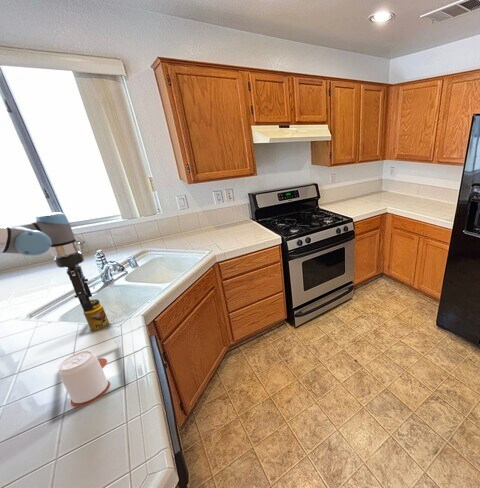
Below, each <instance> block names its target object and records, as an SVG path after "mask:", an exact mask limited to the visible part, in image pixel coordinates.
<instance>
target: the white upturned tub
mask: <svg viewBox="0 0 480 488" xmlns="http://www.w3.org/2000/svg"><path fill="white" fill-rule="evenodd" d="M98 358H99V357H98V356H97V354H96V353H94V352H93V351H91V350H83V351H79V352H76V353H74V354H71V355H70V356H68V357H66V358H65V359H64V360H62V361H61V362H60V363H59V364H58V367H57V368H58V370H57V374H58V376H59V378H60V380H61V382H62V384H63V386H64V387H65V390H66V392H67V393H68V395H69V397H70V400H71V399H72V401H73V402H74V403H83V402H86V401H89V400H91V399H93V398H95V397H96V396H98V395H99V394H101V393H102V392H103V391H104V390H105V389H106V387H107V385H108V381H109V380H108V379H107V376H106V374H105V372H104V370H103V369H102V367H101V365H100V363H99V361H98Z"/></svg>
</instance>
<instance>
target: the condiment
mask: <svg viewBox="0 0 480 488" xmlns="http://www.w3.org/2000/svg"><path fill="white" fill-rule="evenodd" d="M90 301H91V304H92V306H93V309H92V310H89V311H86V312H84V310H83V316H85V317H84V318H85V320H86V322H87V325H88V327H89V329H90V330H91V331H100V330H102V329H104V328H106V327H107V326H108V325H109V324H110V321H109V319H108V316H107V314H106V311H105V308H104V306H103V305H102V304H101V302H100V300H99V299H97V298H96V299H90Z"/></svg>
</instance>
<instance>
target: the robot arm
mask: <svg viewBox="0 0 480 488" xmlns="http://www.w3.org/2000/svg"><path fill="white" fill-rule="evenodd" d="M80 245H81V243H80V242H77V240H76V237H75V235H74V232H73V229H72V227H71V223H70V222H69V219H68V217H67V216H66V214H65V213H64V212H59V211H58V212H49V213H43V214H39V215H36V217H35V221H34V222H31V223H26V224H20V225H14V226H8V227H7V226H0V254H18V255H24V256H27V257H28V256H33V257H34V256H41V255H43V254H45V253H47V252H48V251H49V252H50V254H51V256H52V257H53V258H54V259H53V260H54V262H55V264H56V267H58V268H66V274H67V276H68V277H69V278H68V279H69V280H70V283H71V284H72V285H71V286H72V288H73V291H74V292H75V295H74V298H75V299H78V302H79V303H80V305H81V308H82V310H83V311H84V312H86V311H89V310H92V309H93V306H92V304H91V301H90V300H91V299H90V298H92V297H93V294H92V292H91V290H90V287H89V284H88V282H89V279H88V278H86V276H85V275H84V272H83V269H82V266H81V265H79V264H81V263H83V262H84V261H85V258H84V256H83V253H82V252H81V249H80V247H79V246H80Z"/></svg>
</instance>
